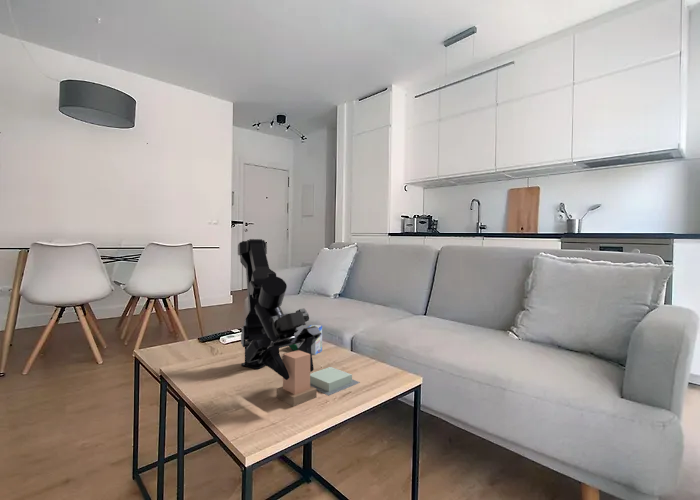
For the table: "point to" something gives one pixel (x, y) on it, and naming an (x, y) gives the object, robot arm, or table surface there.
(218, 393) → the table surface
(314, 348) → the medicine box
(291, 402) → the walnut stand
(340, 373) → the foundation slab
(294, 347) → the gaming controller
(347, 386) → the baseplate
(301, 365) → the terracotta brick
